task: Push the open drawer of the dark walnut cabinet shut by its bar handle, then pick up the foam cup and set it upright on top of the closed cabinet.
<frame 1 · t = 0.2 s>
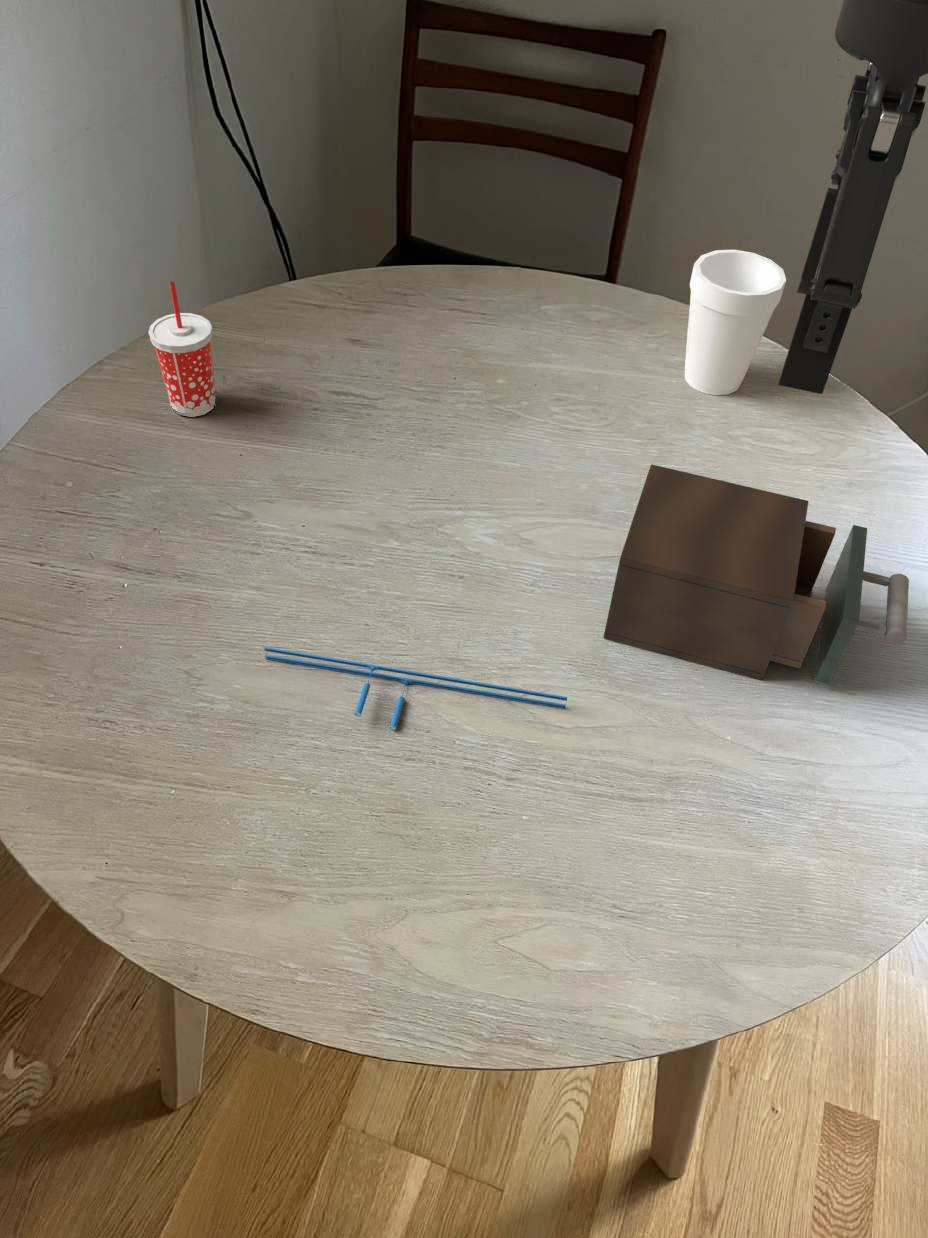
hand: (810, 332, 69), 29 cm above the table, tool pointing down, fingers open, 13 cm apart
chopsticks: (407, 707, 83), on the table
beverage cup: (193, 406, 109), on the table
foam cup: (712, 380, 117), on the table
drawer: (799, 593, 87), point 5 cm above the table, slide at 4.0 cm
cabinet: (693, 608, 92), on the table
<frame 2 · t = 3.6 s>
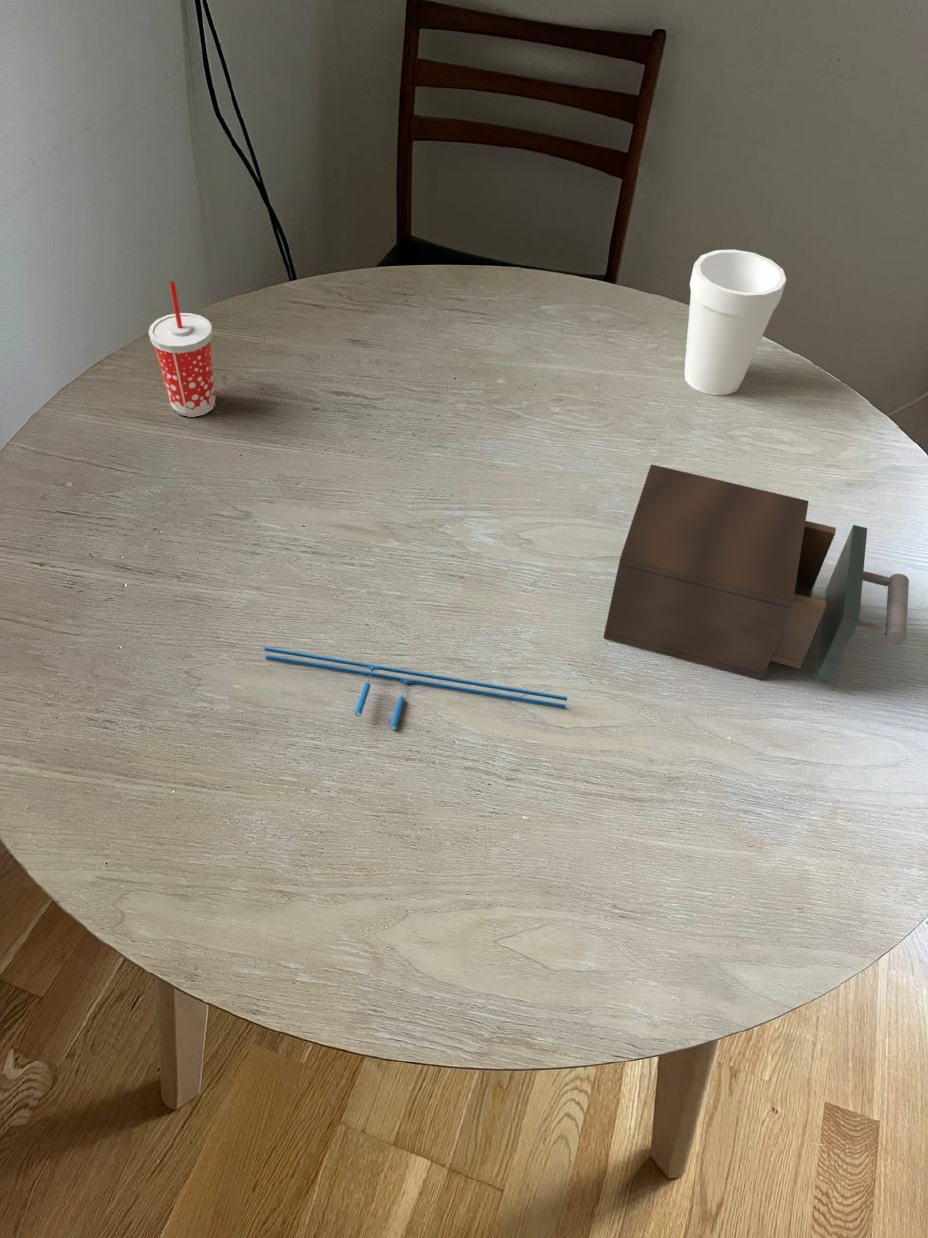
nothing on the table moved.
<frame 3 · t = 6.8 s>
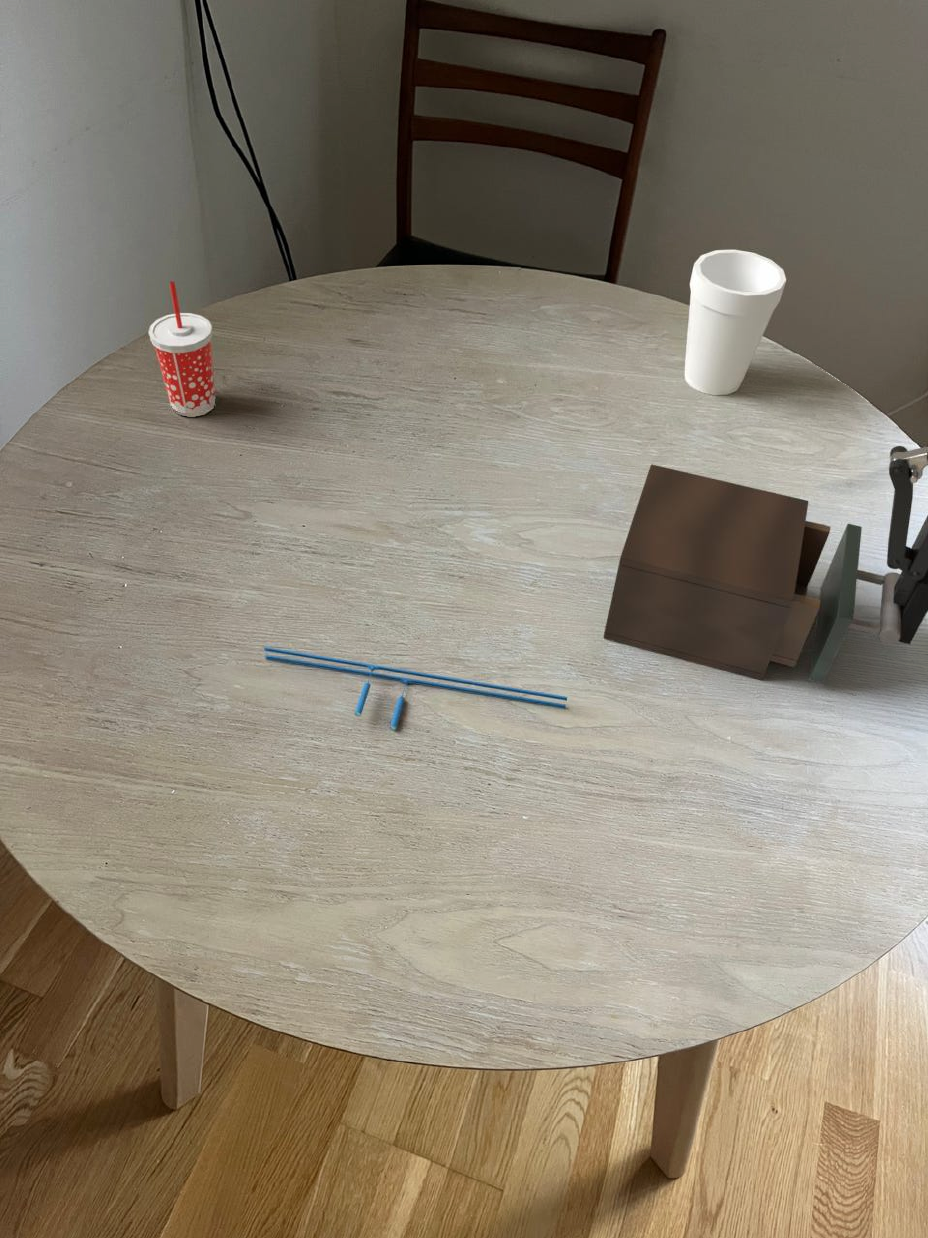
hand: (901, 630, 86), 4 cm above the table, tool pointing down, fingers closed
drawer: (793, 592, 87), point 5 cm above the table, slide at 3.5 cm, touching gripper
everything else where it was.
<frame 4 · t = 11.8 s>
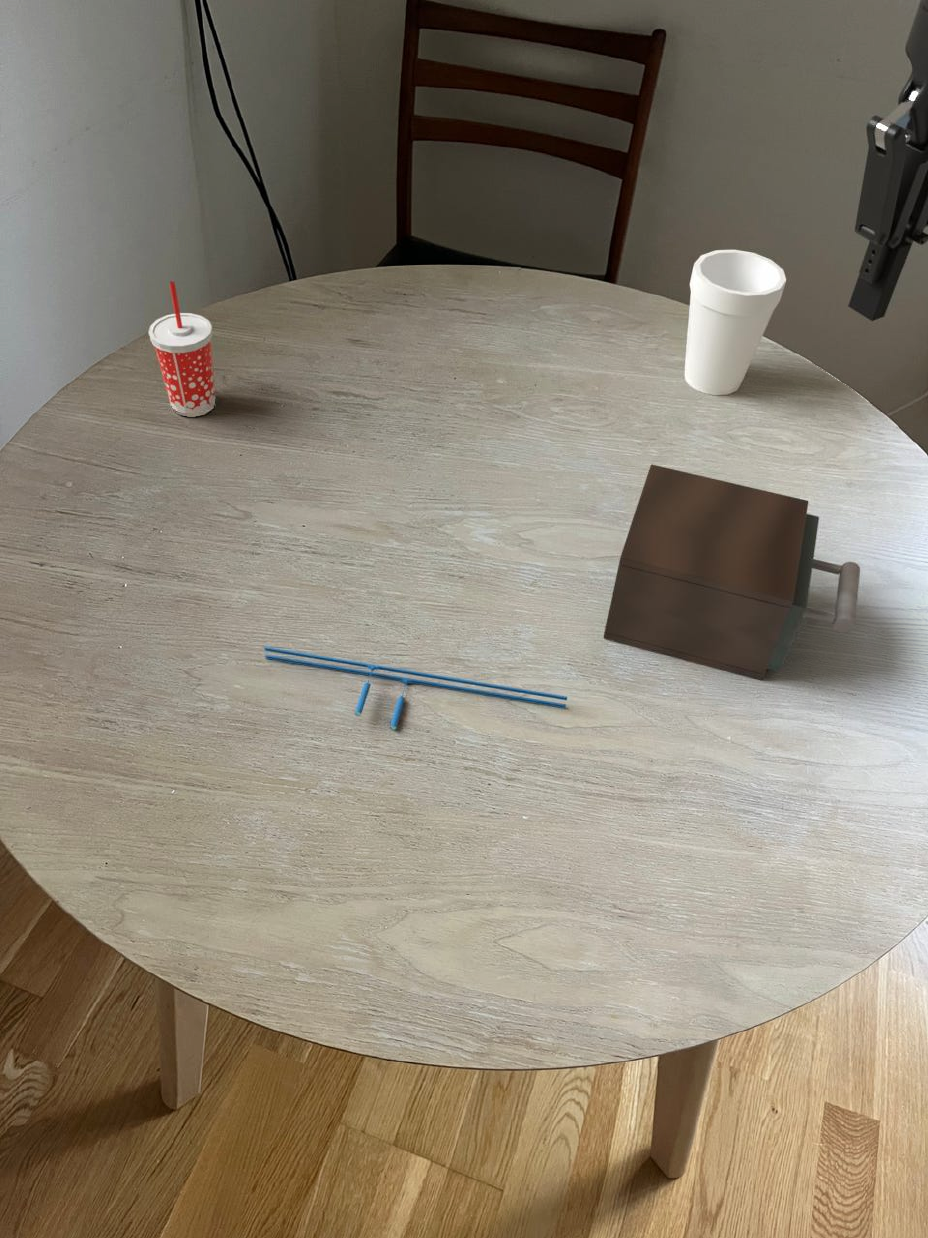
hand: (866, 311, 88), 21 cm above the table, tool pointing down, fingers closed
drawer: (751, 581, 88), point 5 cm above the table, slide at 0.0 cm, touching cabinet
everything else where it was.
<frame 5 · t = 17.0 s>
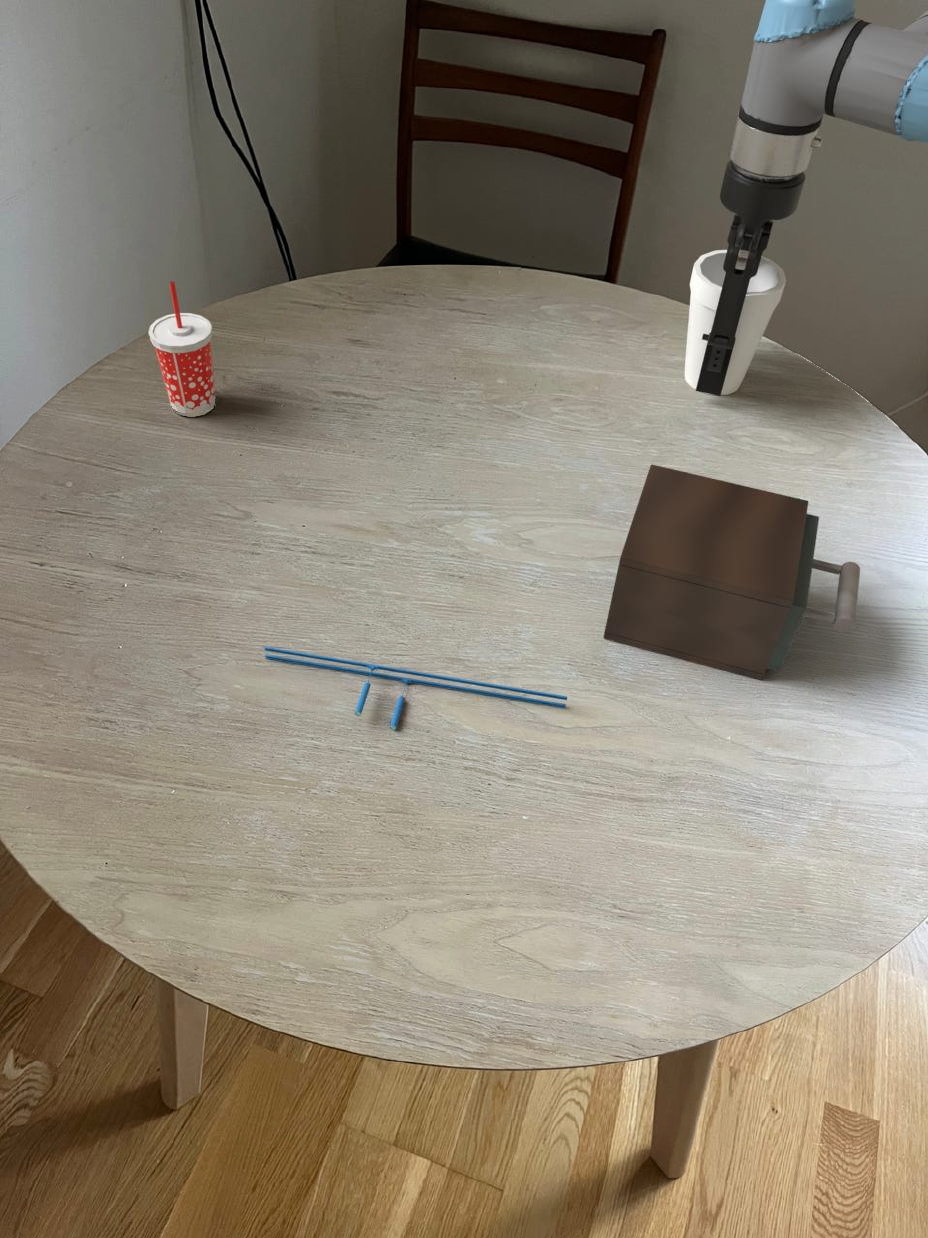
hand: (715, 367, 116), 2 cm above the table, tool pointing down, fingers closed on foam cup, 9 cm apart
foam cup: (712, 380, 117), on the table, touching gripper
everything else where it was.
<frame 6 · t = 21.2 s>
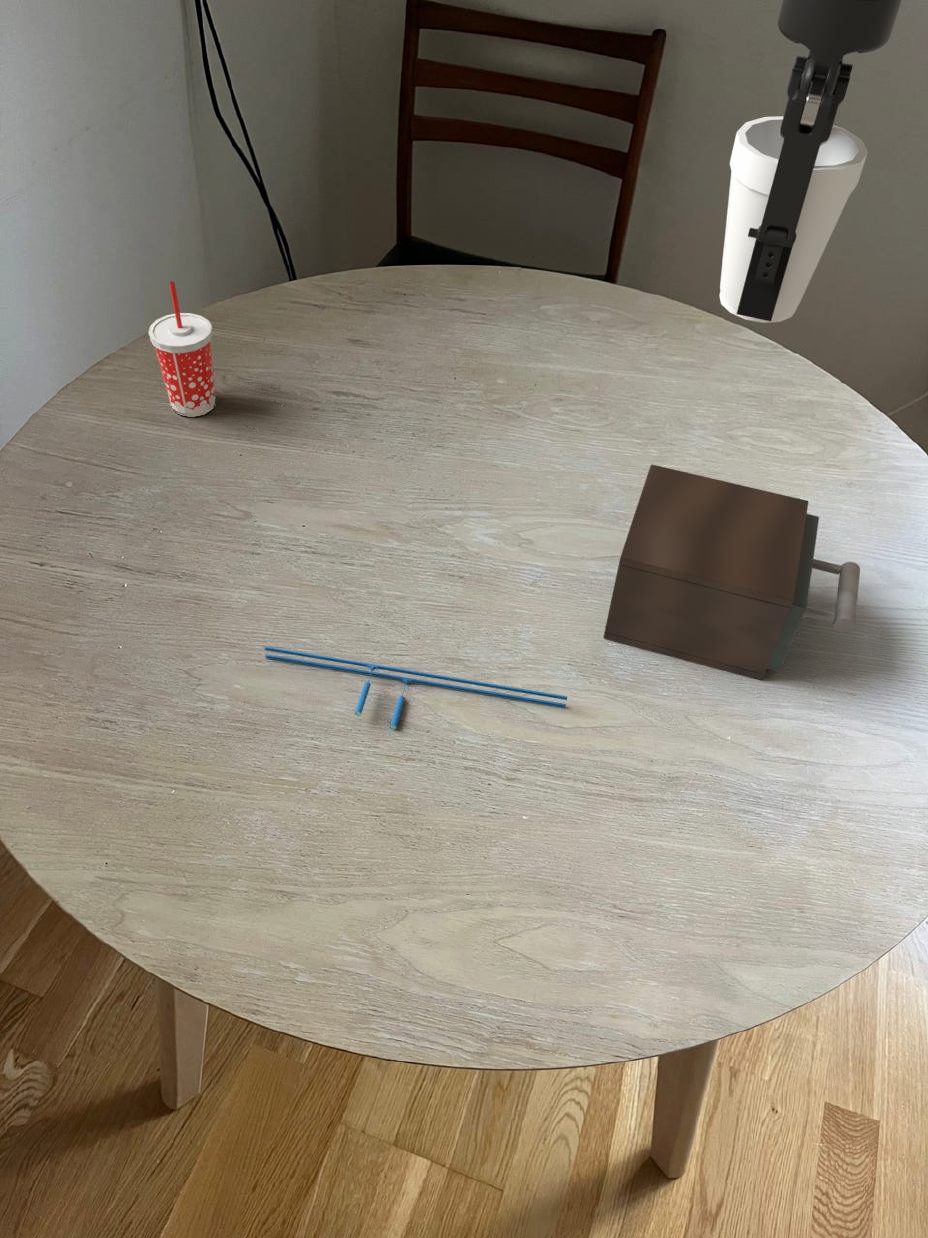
hand: (763, 285, 85), 24 cm above the table, tool pointing down, fingers closed on foam cup, 9 cm apart
foam cup: (757, 304, 86), point 22 cm above the table, touching gripper
everything else where it was.
when the fingers open (11 cm above the table, at t = 25.8 s): foam cup stays where it is, resting on cabinet.
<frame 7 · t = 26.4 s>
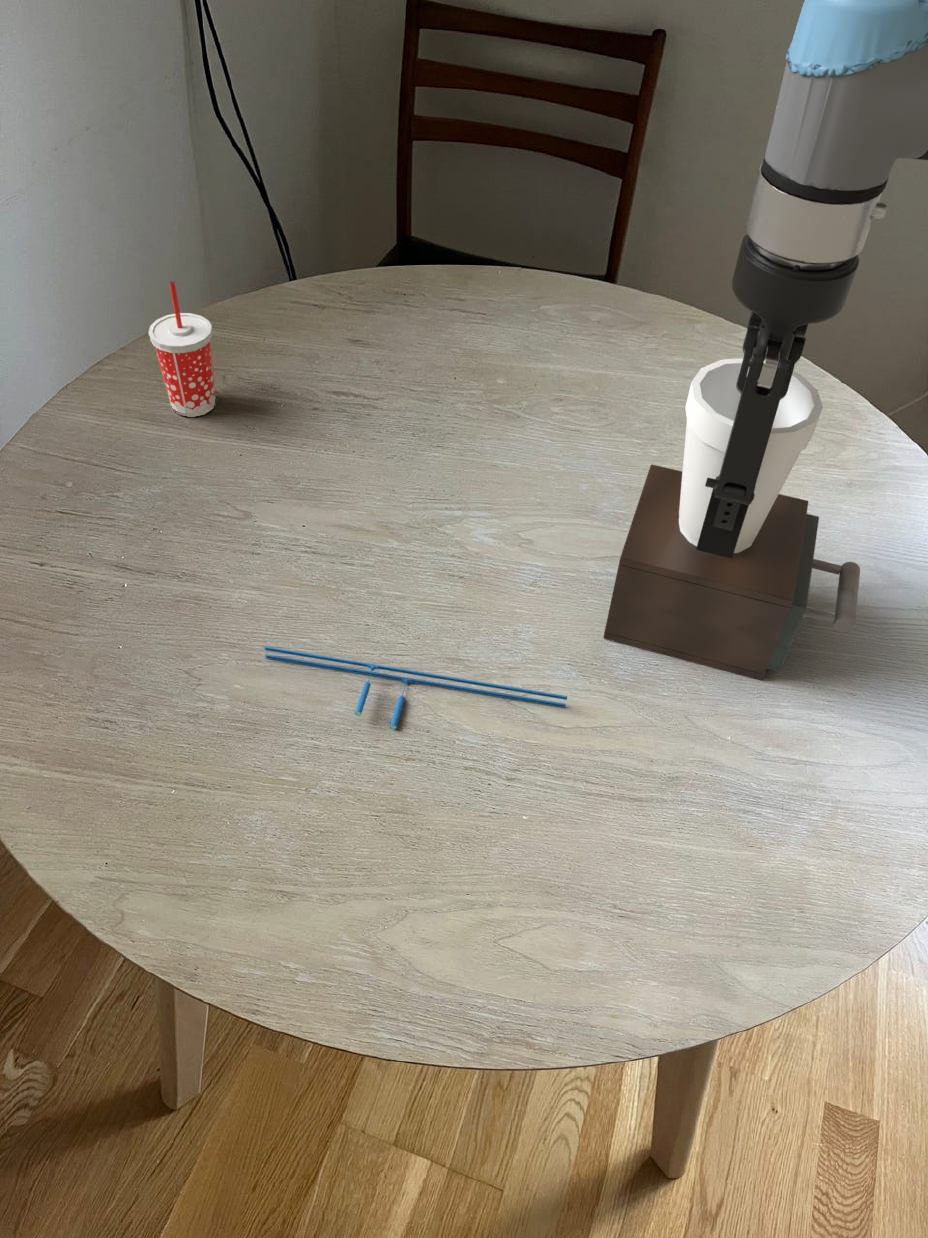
hand: (727, 496, 83), 13 cm above the table, tool pointing down, fingers open, 13 cm apart
foam cup: (716, 529, 85), point 9 cm above the table, touching cabinet
everything else where it was.
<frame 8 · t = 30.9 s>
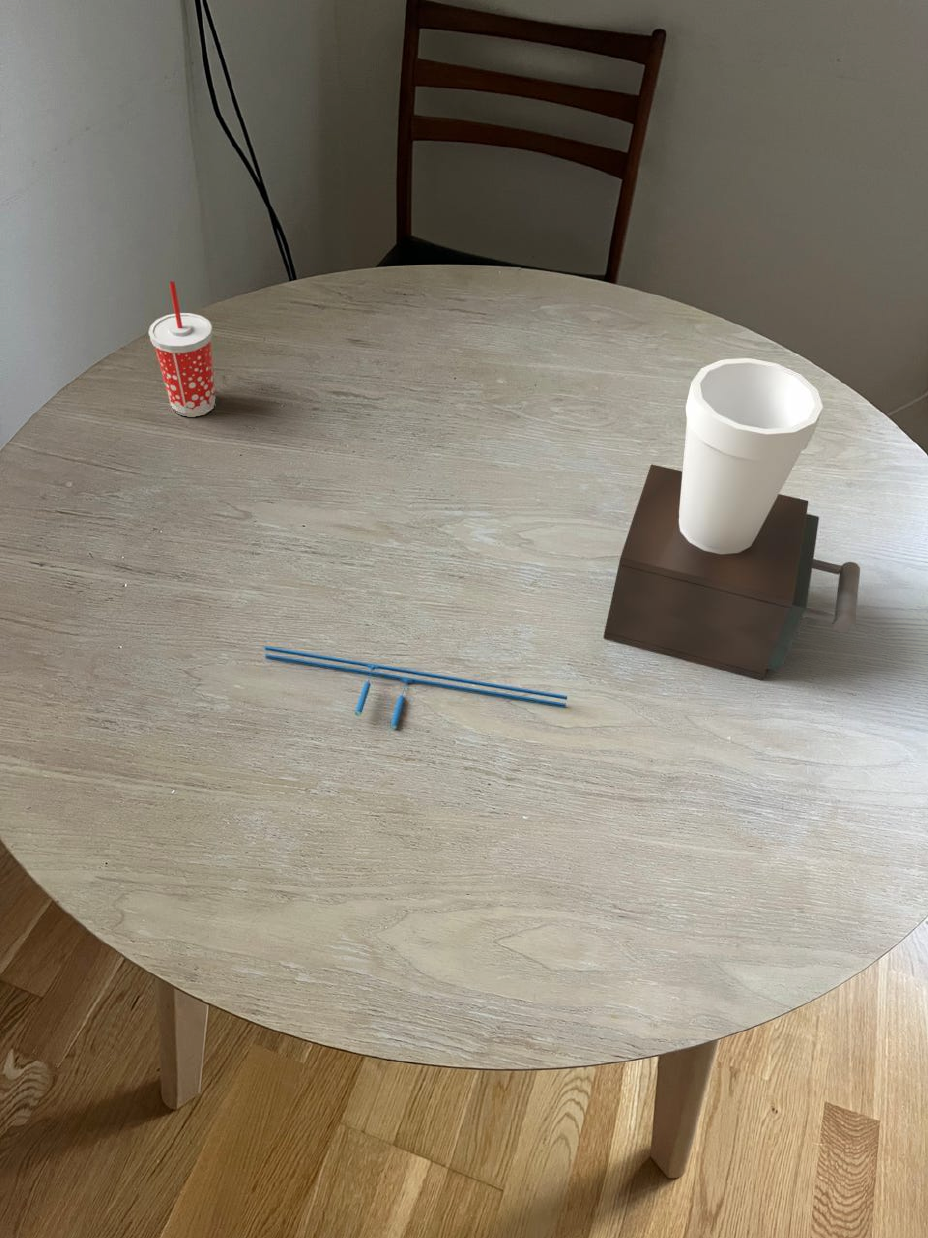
nothing on the table moved.
at the end: drawer slide at 0.0 cm; foam cup inside the target area on the cabinet (0.1 cm from its centre), point 9.4 cm above the cabinet's base; foam cup tilted 0° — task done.
